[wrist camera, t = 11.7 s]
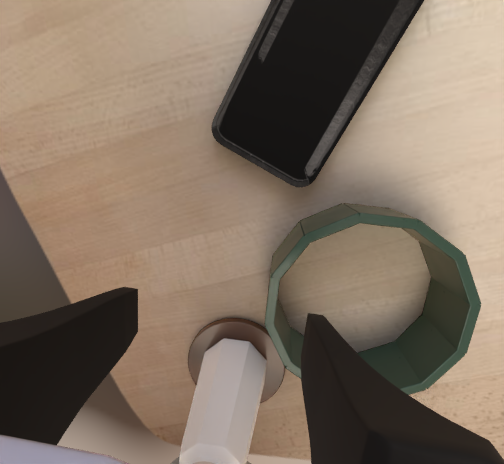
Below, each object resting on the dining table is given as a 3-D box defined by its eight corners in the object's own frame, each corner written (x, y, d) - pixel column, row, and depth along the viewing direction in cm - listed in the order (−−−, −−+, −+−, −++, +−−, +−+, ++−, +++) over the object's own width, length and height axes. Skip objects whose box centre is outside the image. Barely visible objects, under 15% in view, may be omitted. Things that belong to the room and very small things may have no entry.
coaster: (278, 409, 25) (278, 415, 24) (187, 393, 25) (185, 399, 25) (290, 325, 23) (291, 329, 22) (192, 311, 24) (190, 314, 23)
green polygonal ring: (416, 368, 23) (447, 416, 18) (261, 344, 24) (256, 385, 19) (456, 215, 20) (505, 229, 16) (279, 195, 21) (279, 203, 17)
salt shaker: (192, 375, 24) (121, 539, 14) (219, 324, 23) (165, 461, 12) (249, 405, 24) (223, 591, 14) (280, 356, 23) (278, 519, 12)
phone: (451, -45, 16) (306, 193, 19) (440, -31, 17) (305, 192, 21) (327, -120, 16) (203, 134, 19) (324, -101, 17) (208, 136, 20)
